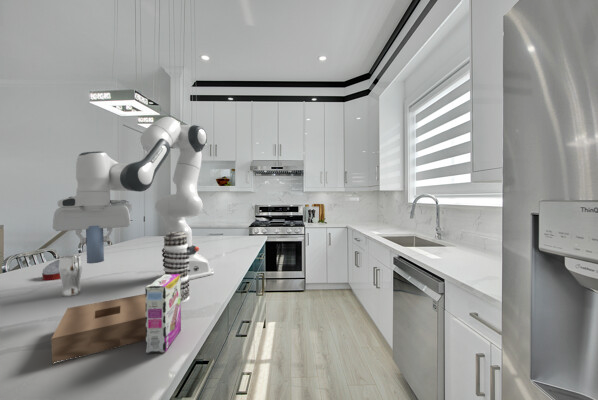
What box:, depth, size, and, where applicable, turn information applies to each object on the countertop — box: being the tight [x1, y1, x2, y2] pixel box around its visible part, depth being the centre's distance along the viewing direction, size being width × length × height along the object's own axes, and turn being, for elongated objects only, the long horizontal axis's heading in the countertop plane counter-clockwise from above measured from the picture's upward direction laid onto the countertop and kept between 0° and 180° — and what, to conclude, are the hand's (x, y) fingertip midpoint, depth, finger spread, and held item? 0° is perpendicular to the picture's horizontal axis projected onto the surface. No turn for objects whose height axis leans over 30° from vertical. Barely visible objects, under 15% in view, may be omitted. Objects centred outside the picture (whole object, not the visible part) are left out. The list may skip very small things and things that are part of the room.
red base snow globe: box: [41, 259, 61, 282], centre depth 129 cm, size 11×10×10 cm
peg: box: [85, 226, 105, 264], centre depth 89 cm, size 4×4×12 cm
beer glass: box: [58, 253, 83, 298], centre depth 107 cm, size 7×7×15 cm
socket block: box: [51, 293, 146, 363], centre depth 76 cm, size 20×20×6 cm
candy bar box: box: [144, 274, 182, 354], centre depth 71 cm, size 11×5×16 cm, turn 5°
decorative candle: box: [161, 231, 190, 304], centre depth 99 cm, size 9×9×25 cm
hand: (95, 242), depth 89 cm, fingers closed on peg, 4 cm apart
